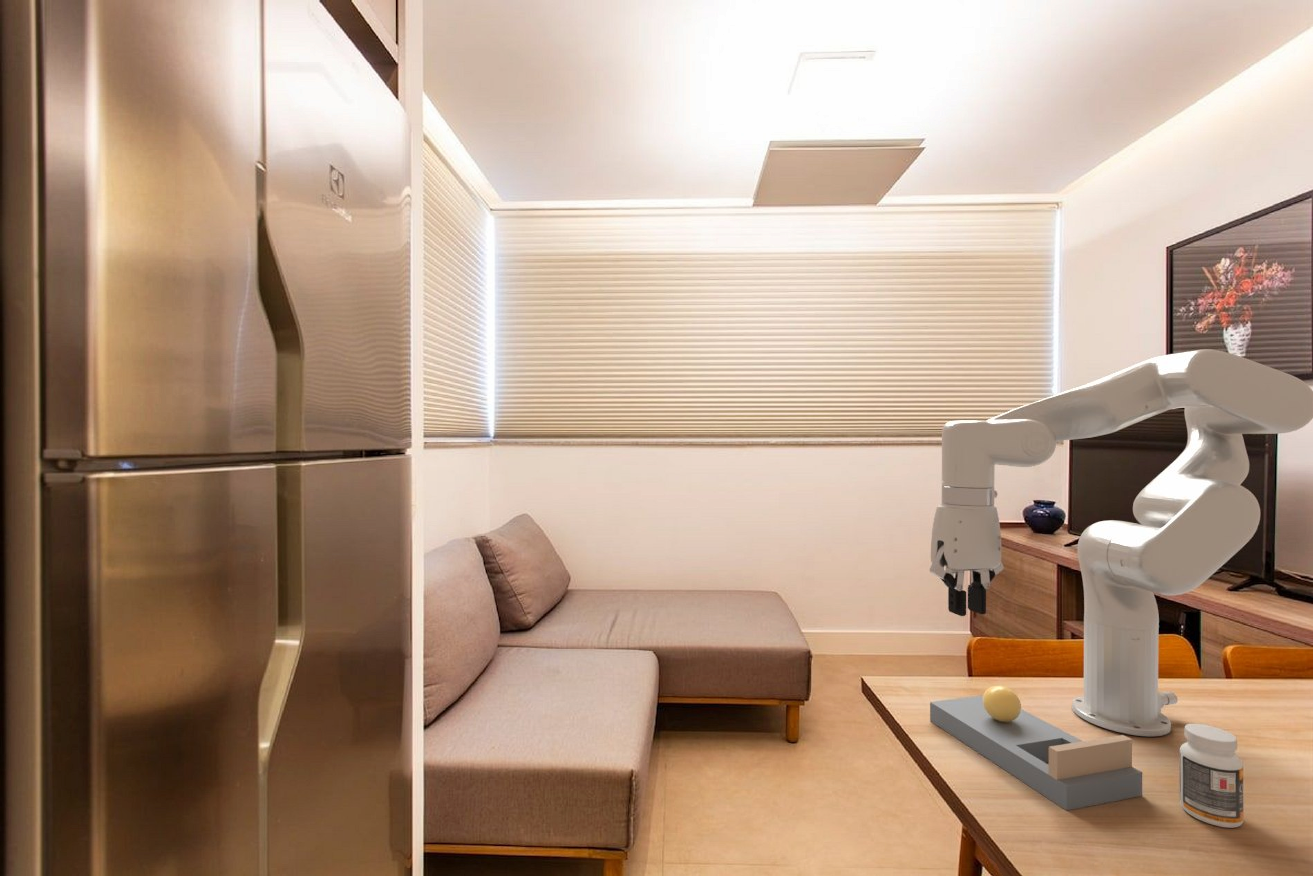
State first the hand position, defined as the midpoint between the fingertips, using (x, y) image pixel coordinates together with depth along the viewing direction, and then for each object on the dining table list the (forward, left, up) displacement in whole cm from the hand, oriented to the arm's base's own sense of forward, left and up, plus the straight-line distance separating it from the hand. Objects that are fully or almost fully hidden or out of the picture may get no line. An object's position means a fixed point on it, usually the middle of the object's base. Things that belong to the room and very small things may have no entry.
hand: (966, 611), depth 98 cm
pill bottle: (-10, +28, -17) cm, 34 cm away
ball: (0, +7, -12) cm, 14 cm away
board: (0, +11, -17) cm, 20 cm away
